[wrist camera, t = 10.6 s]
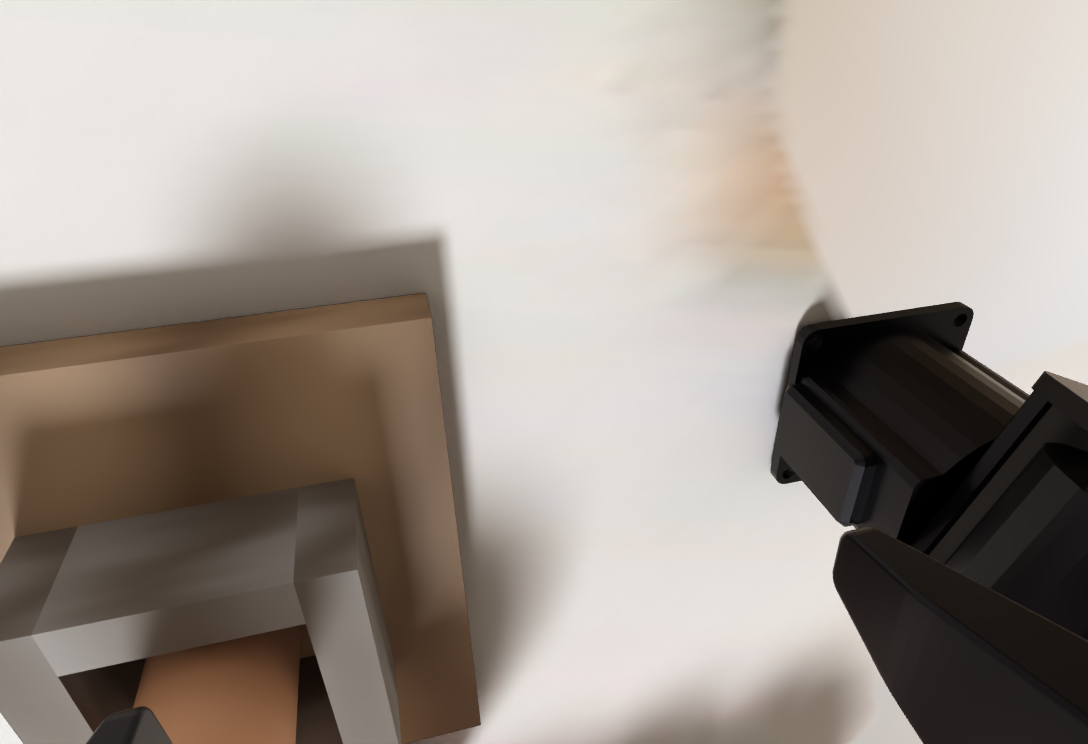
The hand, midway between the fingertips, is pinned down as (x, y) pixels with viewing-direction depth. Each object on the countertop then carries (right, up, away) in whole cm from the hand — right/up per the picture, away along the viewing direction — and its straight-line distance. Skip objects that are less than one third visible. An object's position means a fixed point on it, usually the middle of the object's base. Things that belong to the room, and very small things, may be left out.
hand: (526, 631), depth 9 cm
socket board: (-10, -3, +14) cm, 17 cm away
